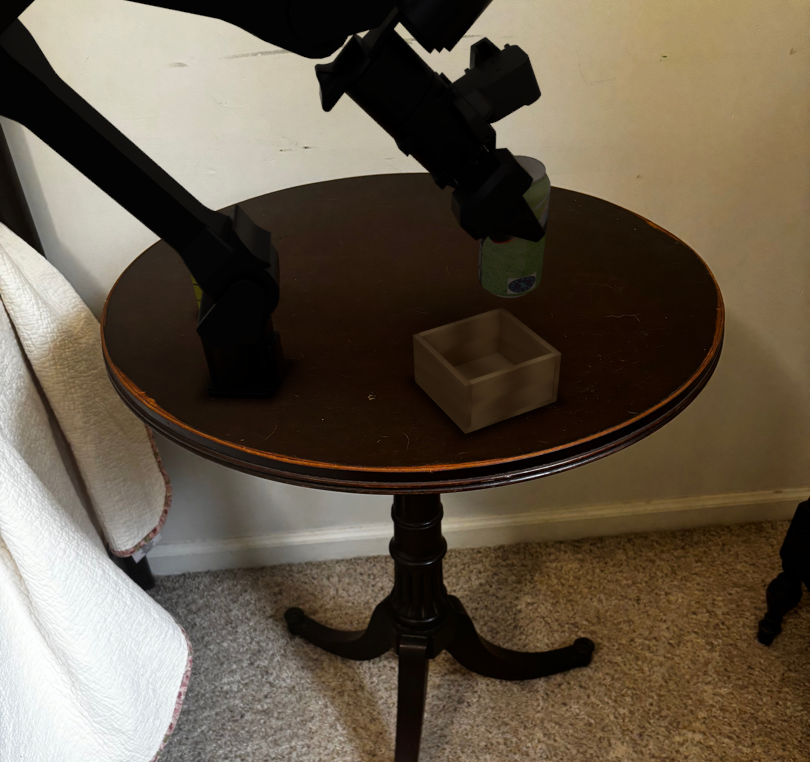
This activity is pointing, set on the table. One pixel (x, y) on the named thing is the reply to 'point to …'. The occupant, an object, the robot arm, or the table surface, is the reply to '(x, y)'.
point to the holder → (486, 369)
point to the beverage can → (517, 244)
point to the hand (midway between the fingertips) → (531, 223)
